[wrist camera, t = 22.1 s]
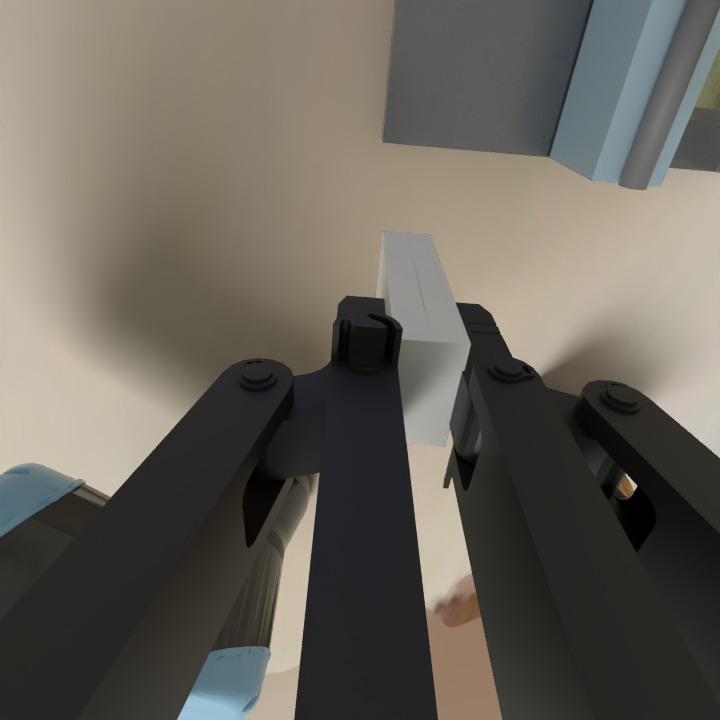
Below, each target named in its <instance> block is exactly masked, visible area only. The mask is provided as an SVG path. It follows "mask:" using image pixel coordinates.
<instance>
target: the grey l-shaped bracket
mask: <svg viewBox="0 0 720 720" xmlns="http://www.w3.org/2000/svg"><path fill="white" fill-rule="evenodd" d="M593 2H594V0H395V6H394V17H393V27H392V38H391V48H390V59H389V69H388V80H387V90H386V101H385V111H384V122H383V132H382V141H383V143H394V144H405V145H417V146H428V147H439V148H451V149H462V150H474V151H485V152H497V153H508V154H519V155H531V156H542V157H550V154H551V150H552V147H553V143H554V140H555V136H556V133H557V129H558V126H559V122H560V119H561V115H562V112H563V108H564V104H565V101H566V97H567V94H568V90H569V87H570V83H571V80H572V76H573V73H574V69H575V66H576V62H577V59H578V55H579V52H580V48H581V45H582V41H583V38H584V34H585V31H586V27H587V24H588V20H589V17H590V13H591V9H592V6H593ZM669 168H679V169H691V170H702V171H714V172H718V173H720V111H719V110H712V109H706V108H699V107H694V109H693V111H692V114H691V116H690V119H689V121H688V123H687V126H686V128H685V130H684V133H683V135H682V138H681V140H680V142H679V145H678V147H677V149H676V152H675V154H674V156H673V159H672V161H671V164H670V166H669Z"/></svg>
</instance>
